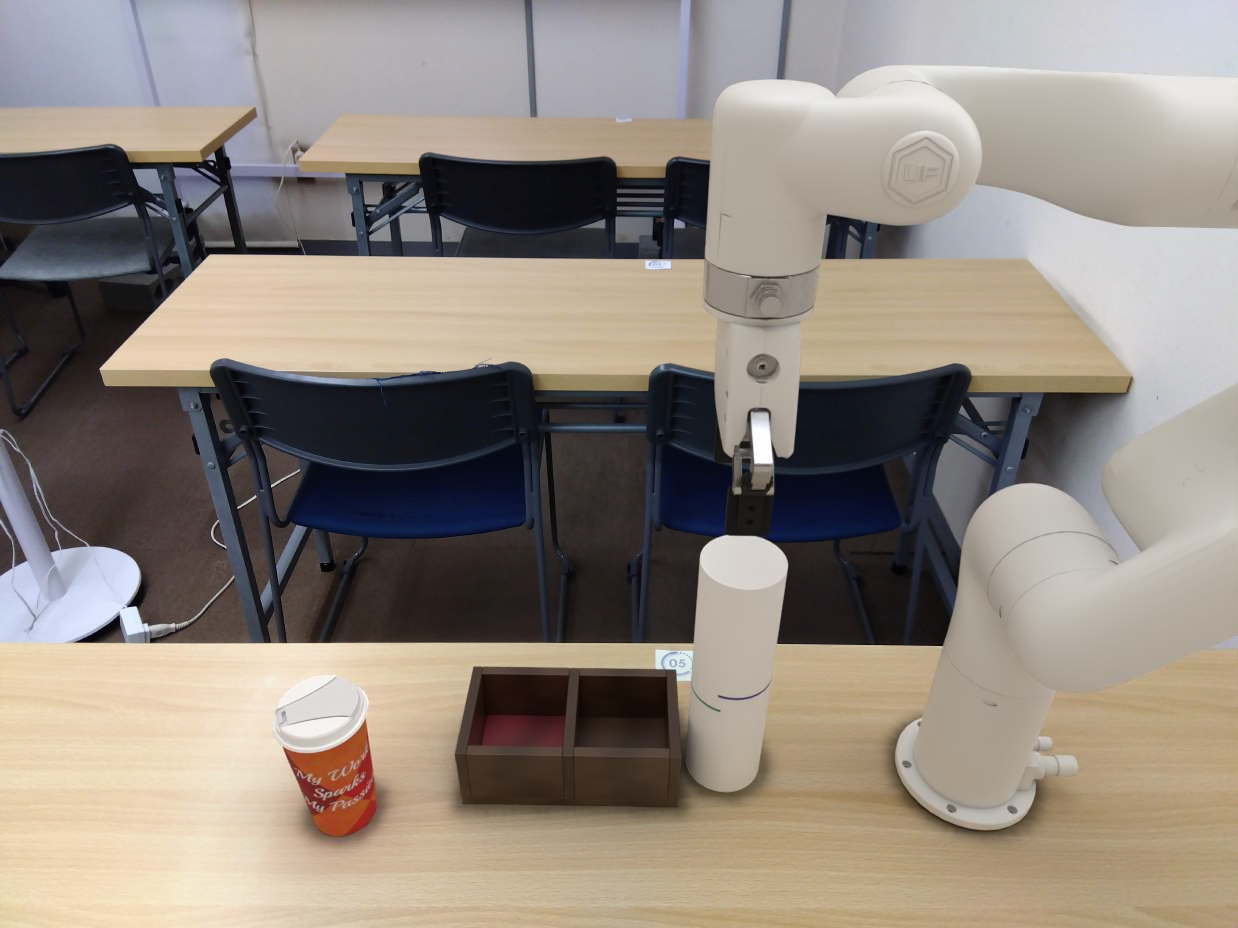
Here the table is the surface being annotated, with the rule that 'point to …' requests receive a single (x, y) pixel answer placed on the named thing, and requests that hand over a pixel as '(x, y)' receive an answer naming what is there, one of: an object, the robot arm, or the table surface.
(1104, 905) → the table surface
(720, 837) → the table surface
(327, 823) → the paper cup
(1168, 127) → the robot arm
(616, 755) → the wooden compartment box
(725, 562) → the cylindrical container
